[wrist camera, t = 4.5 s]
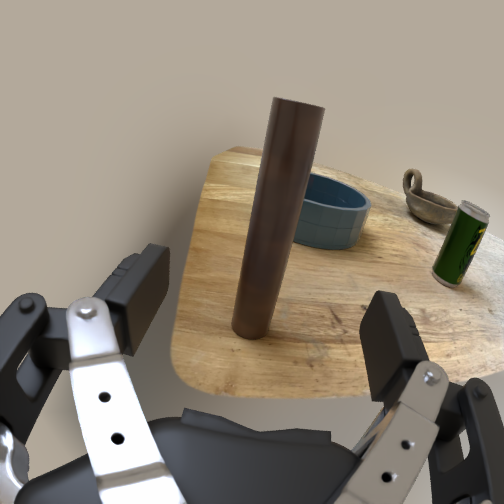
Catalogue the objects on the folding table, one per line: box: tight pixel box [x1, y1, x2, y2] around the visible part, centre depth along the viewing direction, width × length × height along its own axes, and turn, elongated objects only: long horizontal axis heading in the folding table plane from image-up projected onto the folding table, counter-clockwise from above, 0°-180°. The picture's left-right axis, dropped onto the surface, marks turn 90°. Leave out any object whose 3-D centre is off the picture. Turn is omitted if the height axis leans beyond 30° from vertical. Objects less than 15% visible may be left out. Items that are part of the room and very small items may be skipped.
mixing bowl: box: [293, 173, 371, 250], centre depth 46 cm, size 17×17×6 cm
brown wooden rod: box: [231, 97, 325, 339], centre depth 21 cm, size 3×3×18 cm
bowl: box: [403, 169, 458, 224], centre depth 62 cm, size 14×18×10 cm
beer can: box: [432, 200, 490, 288], centre depth 36 cm, size 5×5×12 cm
